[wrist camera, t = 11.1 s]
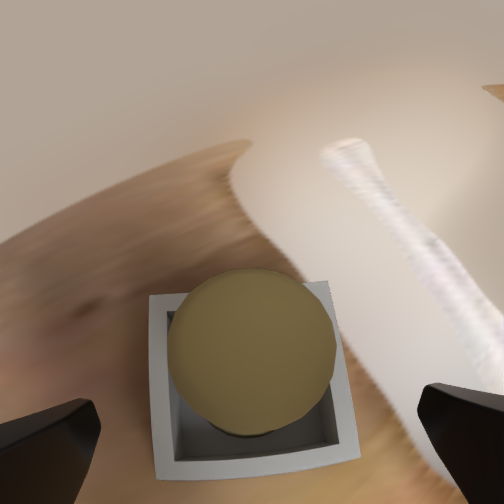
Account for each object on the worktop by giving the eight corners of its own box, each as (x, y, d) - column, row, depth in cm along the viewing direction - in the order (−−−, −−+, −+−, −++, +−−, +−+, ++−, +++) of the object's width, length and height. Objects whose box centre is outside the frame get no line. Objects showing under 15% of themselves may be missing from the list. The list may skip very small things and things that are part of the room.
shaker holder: (347, 458, 16) (371, 463, 13) (165, 478, 15) (147, 488, 12) (319, 299, 22) (333, 271, 18) (157, 313, 21) (141, 287, 17)
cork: (239, 320, 20) (238, 204, 10) (318, 379, 18) (400, 313, 9) (173, 393, 17) (97, 340, 8) (255, 458, 15) (273, 495, 6)
